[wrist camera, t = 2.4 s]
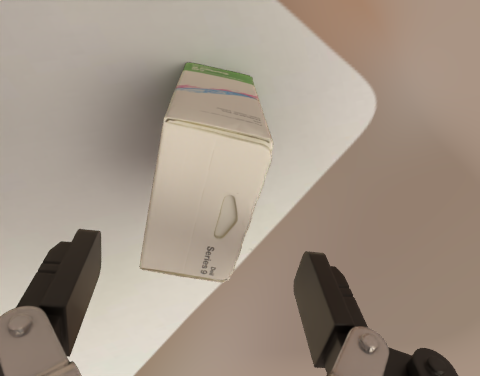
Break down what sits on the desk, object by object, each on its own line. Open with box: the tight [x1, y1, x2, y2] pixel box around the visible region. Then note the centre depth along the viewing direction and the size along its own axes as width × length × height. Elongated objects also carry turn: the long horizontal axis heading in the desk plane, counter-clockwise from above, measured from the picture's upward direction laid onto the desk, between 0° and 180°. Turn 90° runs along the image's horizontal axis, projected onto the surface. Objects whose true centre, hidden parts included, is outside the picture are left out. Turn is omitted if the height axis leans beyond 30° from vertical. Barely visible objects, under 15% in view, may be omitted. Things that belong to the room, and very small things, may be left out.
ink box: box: [139, 63, 273, 283], centre depth 21 cm, size 9×5×12 cm, turn 166°
